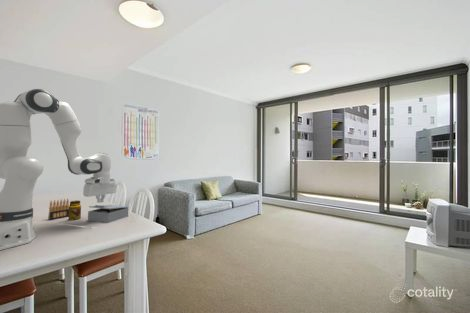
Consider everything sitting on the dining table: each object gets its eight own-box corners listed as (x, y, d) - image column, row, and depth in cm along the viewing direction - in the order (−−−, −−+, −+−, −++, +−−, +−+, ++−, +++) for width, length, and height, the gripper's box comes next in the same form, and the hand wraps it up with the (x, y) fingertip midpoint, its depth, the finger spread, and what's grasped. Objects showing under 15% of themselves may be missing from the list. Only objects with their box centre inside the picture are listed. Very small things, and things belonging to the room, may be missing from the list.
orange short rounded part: (113, 217, 137) (113, 209, 137) (108, 217, 138) (108, 209, 138) (118, 216, 141) (118, 208, 141) (113, 215, 142) (113, 208, 142)
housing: (108, 224, 126) (108, 213, 126) (87, 222, 130) (88, 211, 130) (128, 217, 142) (128, 207, 142) (109, 215, 145) (109, 206, 146)
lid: (109, 209, 127) (109, 206, 127) (88, 207, 131) (89, 204, 131) (128, 207, 142) (129, 204, 142) (110, 205, 146) (110, 203, 146)
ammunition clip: (49, 220, 132) (50, 200, 132) (48, 220, 133) (48, 200, 133) (69, 216, 142) (70, 198, 142) (68, 216, 142) (68, 198, 143)
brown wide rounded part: (103, 220, 130) (104, 212, 130) (98, 220, 131) (98, 211, 131) (109, 219, 134) (109, 210, 134) (104, 218, 135) (104, 210, 135)
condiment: (77, 222, 130) (77, 202, 130) (61, 222, 129) (62, 202, 129) (83, 218, 137) (84, 199, 137) (69, 219, 136) (70, 200, 136)
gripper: (111, 178, 143) (110, 199, 142) (81, 180, 123) (80, 204, 122) (119, 178, 141) (118, 200, 140) (90, 180, 121) (89, 205, 121)
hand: (100, 202), depth 131 cm, fingers closed
